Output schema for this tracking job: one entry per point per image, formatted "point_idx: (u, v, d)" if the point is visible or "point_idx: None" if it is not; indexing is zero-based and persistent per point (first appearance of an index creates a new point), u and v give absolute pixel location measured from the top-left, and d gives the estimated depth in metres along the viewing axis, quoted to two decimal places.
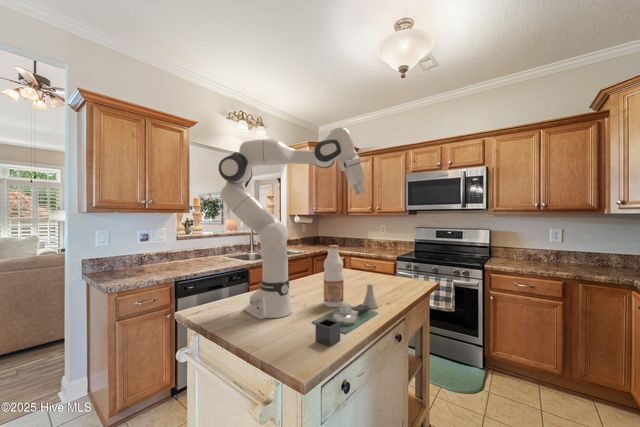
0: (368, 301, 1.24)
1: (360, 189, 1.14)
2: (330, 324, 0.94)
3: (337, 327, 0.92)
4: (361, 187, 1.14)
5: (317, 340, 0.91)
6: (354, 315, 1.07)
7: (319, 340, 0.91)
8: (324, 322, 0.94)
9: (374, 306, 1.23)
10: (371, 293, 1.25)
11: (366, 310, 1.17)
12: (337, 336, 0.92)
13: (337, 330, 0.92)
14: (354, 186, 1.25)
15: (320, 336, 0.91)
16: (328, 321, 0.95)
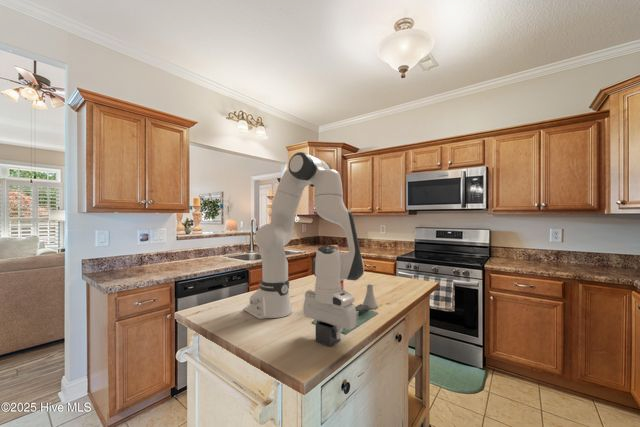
0: (368, 301, 1.24)
1: (338, 334, 0.89)
2: (330, 324, 0.94)
3: None
4: (340, 332, 0.89)
5: (317, 340, 0.91)
6: None
7: (319, 340, 0.91)
8: (324, 322, 0.94)
9: (374, 306, 1.23)
10: (371, 293, 1.25)
11: (366, 310, 1.17)
12: None
13: (337, 330, 0.91)
14: None
15: (320, 336, 0.91)
16: None
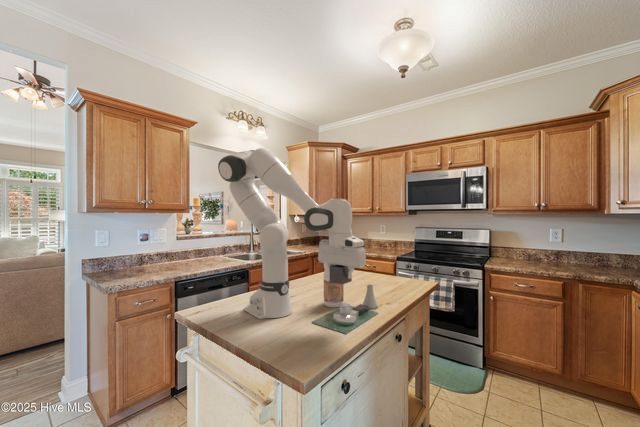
0: (368, 301, 1.24)
1: (349, 274, 1.01)
2: None
3: (349, 269, 1.03)
4: (351, 272, 1.01)
5: (331, 280, 1.03)
6: (354, 315, 1.07)
7: (333, 280, 1.02)
8: (337, 266, 1.06)
9: (374, 306, 1.23)
10: (371, 293, 1.25)
11: (366, 310, 1.17)
12: None
13: None
14: (331, 264, 1.06)
15: (334, 276, 1.02)
16: (340, 265, 1.06)
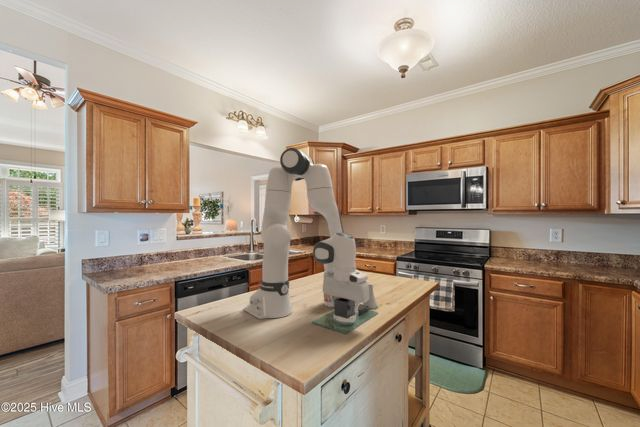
0: (368, 301, 1.24)
1: (356, 308, 1.04)
2: (346, 301, 1.10)
3: (353, 303, 1.07)
4: (357, 306, 1.04)
5: (336, 314, 1.07)
6: (354, 315, 1.07)
7: (337, 313, 1.06)
8: (341, 299, 1.10)
9: (374, 306, 1.23)
10: (371, 293, 1.25)
11: (366, 310, 1.17)
12: None
13: (353, 305, 1.07)
14: (333, 296, 1.11)
15: (338, 310, 1.06)
16: None
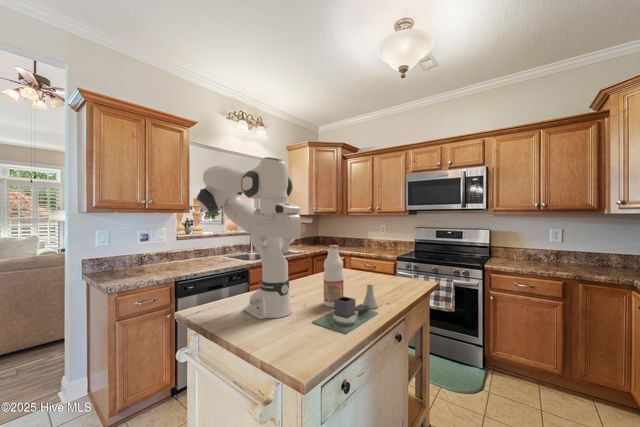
0: (368, 301, 1.24)
1: (285, 247, 0.83)
2: (346, 301, 1.10)
3: (353, 303, 1.07)
4: (287, 245, 0.83)
5: (336, 314, 1.07)
6: (354, 315, 1.07)
7: (337, 313, 1.06)
8: (341, 299, 1.10)
9: (374, 306, 1.23)
10: (371, 293, 1.25)
11: (366, 310, 1.17)
12: (353, 310, 1.07)
13: (353, 305, 1.07)
14: (262, 237, 0.90)
15: (338, 310, 1.06)
16: (344, 298, 1.10)
